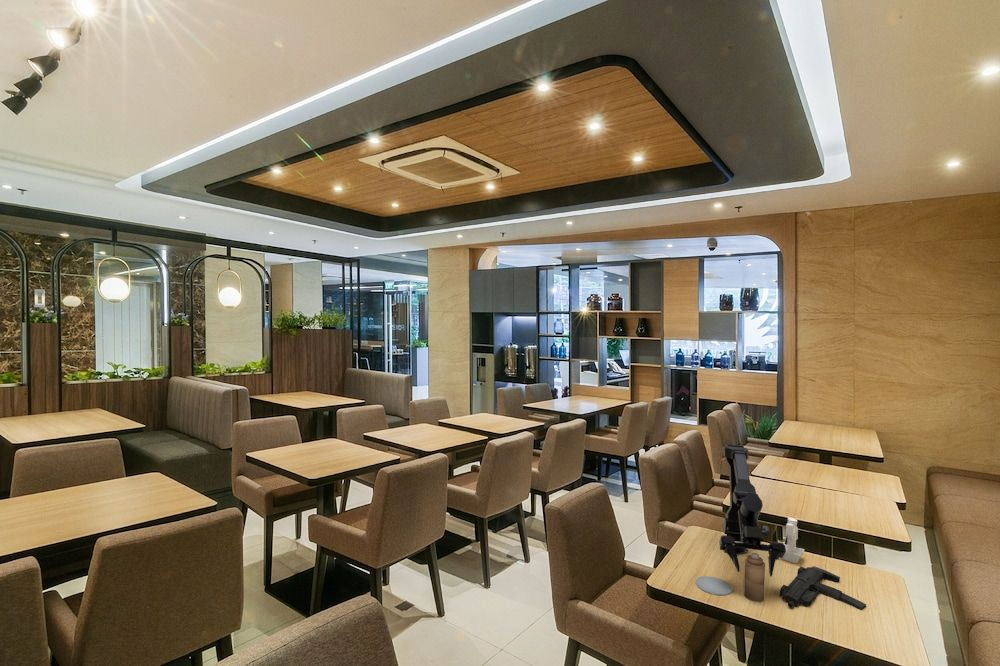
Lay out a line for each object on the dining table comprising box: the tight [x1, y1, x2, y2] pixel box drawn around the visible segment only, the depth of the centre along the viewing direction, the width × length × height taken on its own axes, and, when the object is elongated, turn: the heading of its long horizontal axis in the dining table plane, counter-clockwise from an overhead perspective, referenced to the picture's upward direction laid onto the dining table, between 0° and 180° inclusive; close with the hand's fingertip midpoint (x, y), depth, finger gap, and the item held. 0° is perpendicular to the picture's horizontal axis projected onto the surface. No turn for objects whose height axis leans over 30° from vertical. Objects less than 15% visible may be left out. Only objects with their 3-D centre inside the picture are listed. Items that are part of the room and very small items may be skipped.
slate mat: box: [695, 575, 733, 596], centre depth 164 cm, size 11×11×1 cm
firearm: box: [779, 565, 867, 611], centre depth 158 cm, size 3×30×20 cm
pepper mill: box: [743, 552, 766, 603], centre depth 158 cm, size 6×6×13 cm
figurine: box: [781, 517, 806, 565], centre depth 183 cm, size 7×9×15 cm
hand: (754, 573), depth 157 cm, fingers open, 9 cm apart
